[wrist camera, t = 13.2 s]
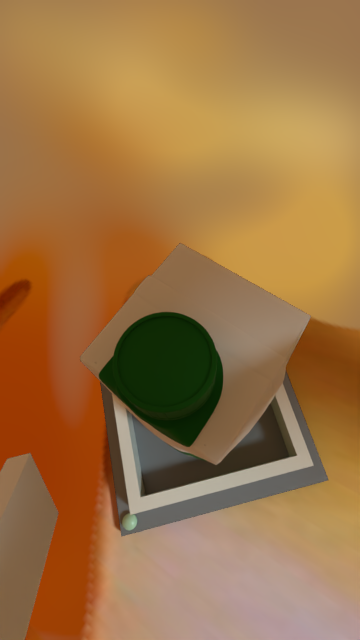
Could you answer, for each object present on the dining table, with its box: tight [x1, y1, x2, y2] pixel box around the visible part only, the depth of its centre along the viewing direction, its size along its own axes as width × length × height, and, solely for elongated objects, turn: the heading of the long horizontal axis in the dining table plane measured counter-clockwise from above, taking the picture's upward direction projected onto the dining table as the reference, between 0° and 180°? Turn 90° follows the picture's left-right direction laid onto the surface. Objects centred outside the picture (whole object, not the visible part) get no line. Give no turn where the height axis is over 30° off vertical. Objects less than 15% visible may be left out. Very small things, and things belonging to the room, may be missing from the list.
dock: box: [100, 372, 328, 536], centre depth 31 cm, size 18×18×4 cm
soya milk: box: [80, 243, 311, 465], centre depth 22 cm, size 9×9×20 cm
